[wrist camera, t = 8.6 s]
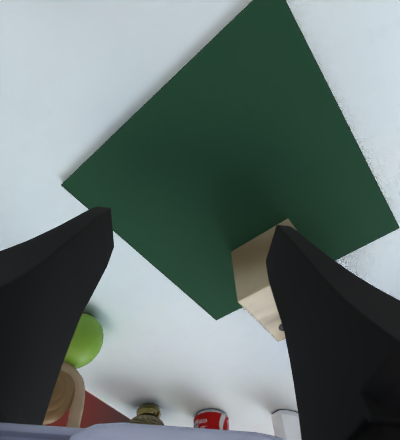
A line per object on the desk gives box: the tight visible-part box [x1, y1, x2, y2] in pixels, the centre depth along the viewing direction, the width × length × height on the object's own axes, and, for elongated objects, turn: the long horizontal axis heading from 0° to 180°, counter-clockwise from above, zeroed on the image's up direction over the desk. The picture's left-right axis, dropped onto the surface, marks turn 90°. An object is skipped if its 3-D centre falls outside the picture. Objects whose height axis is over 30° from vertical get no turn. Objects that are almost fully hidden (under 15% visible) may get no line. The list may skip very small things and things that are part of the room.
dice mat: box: [61, 0, 399, 320], centre depth 22 cm, size 21×20×1 cm
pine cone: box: [129, 404, 165, 426], centre depth 37 cm, size 8×7×8 cm
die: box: [231, 219, 296, 341], centre depth 22 cm, size 6×6×6 cm
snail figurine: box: [43, 313, 103, 428], centre depth 25 cm, size 5×6×12 cm
